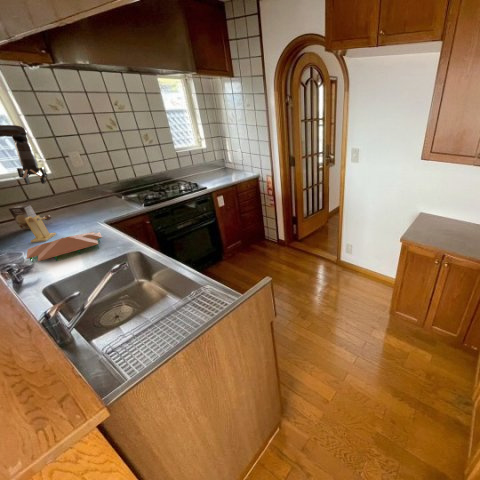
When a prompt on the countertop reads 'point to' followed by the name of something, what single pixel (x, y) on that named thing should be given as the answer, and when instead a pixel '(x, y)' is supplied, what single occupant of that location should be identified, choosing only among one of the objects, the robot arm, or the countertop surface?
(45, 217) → the flush lever
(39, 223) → the flush bracket
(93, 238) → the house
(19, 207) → the coffee box
